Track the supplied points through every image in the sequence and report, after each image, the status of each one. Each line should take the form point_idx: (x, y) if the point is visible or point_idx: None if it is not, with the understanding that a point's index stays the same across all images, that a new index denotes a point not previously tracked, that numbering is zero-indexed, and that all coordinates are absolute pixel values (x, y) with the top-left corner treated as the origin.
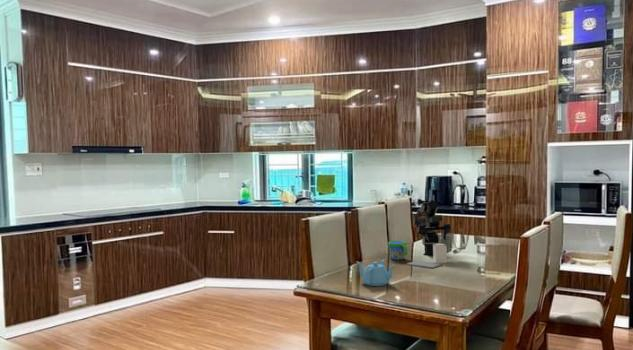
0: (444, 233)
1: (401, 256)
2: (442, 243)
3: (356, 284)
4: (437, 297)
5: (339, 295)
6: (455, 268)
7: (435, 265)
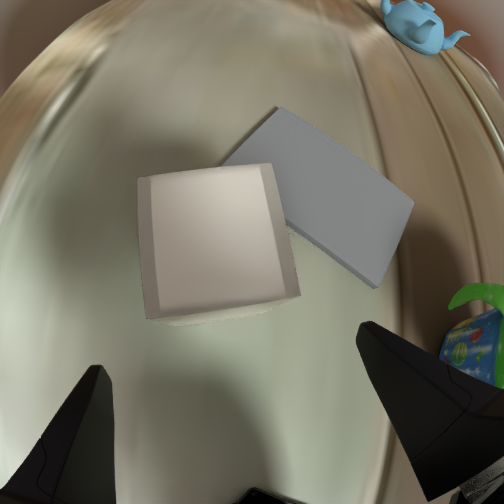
0: (59, 461)
1: (460, 327)
2: (161, 296)
3: None
4: None
5: None
6: (159, 108)
7: (262, 133)
